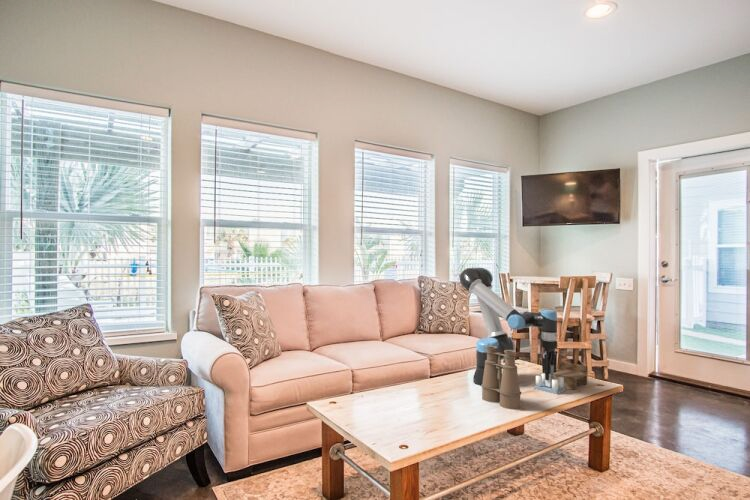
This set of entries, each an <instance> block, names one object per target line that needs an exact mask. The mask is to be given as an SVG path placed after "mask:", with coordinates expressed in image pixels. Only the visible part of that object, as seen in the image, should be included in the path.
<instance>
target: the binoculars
mask: <svg viewBox="0 0 750 500" xmlns="http://www.w3.org/2000/svg"><path fill="white" fill-rule="evenodd" d="M486 348H487V351H486V353H487V360H485V368H484V375H483V383H482V384H481V385H480V386H481V393H482V394H481V399H482V400H483V401H485V402H489V403H499V406H500V407H502V408H504V409H506V410H507V409H508V410H519V409H520V408H521V406H522V405H521V395H522V392H521V387H520V380H519V374H518V373H519V372H518V366H517V365H516V358H517V355H516V353H517V351H516V350H515V351H514V350H504V353H505V354H501V353H500V352H499V353H498V352H497V351H496V350H497V347H496V346H486ZM497 354H498V355H499V361H497ZM501 355H502V356H504V357H505V359H504V364H502V363H501V362H502V361H501Z"/></svg>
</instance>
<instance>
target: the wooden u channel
mask: <svg viewBox="0 0 750 500" xmlns="http://www.w3.org/2000/svg"><path fill="white" fill-rule="evenodd" d="M555 371H556V373H555V372H554V379H557V377H563V378H564V387H566V389H569V388H570V390H574V391H576V390H577V386H578V385H577V383H578V384H582V385H586V386H587V385H588V366H587V365H581V364H578V363H577V364H576V363H570V362H565V361H560V368H558V369H556V370H555Z"/></svg>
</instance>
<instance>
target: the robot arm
mask: <svg viewBox="0 0 750 500" xmlns="http://www.w3.org/2000/svg"><path fill="white" fill-rule="evenodd" d="M459 275H460V276H459V282H460V284H461V286H462V287H463V288H464V289H465V290H466V291H467V292H468V293H470V294H474V295H475V296H476V299H477V301H478V305H479V309H480V311H481V314H482V318H483V322H484V324H485V328H486V330H487V331H486V332H487V337H482V338H479V339H477V341H476V347H475V349H476V350H475V351H476V368H475V370H474V374H473V380H472V381H473V383H474V384H476V385H478V386H481V384H482V383H483V375H484V368H485V360H487V353H486V351H487V348H486V346H496V347H497V350H496V351H497V352H498V353H499V352H500V353H501V354H505V353H504V350H514V351H516V350H515V349H516V345H515V343H514V340H513V339H512V338H510V337H509V336H508V332H506V331H505V330H503V329H504V328H503V327H502V326H503V325H502V322H501V320H500V317H502V318H503V319H504V320H505V321H506V322H507V325H508V327H509V328H510V329H511V330H521V329H525V328H526V329H527V328H531V327H532V328H541V329H540V330H541V348H542V349H544V350H543V353H541V355H540V357H541V365H542V373H545V386H548V387H551V374H550V365H554V372H555V373H556V371H555V370H557V367H558V366H557V363H558V362H557V361H558V353H559V352H558V351H557V349H558V341H557V340H558V314H557V313H558V312H557V311H556V310H554V309H542V310H541V312H533V311H521V312H520V311H518V310H516V308H514V307H513V306H512V305H511V304H509V303H508V302H507V301H506V300H504V299H503V298H502V297H501V296H499V295H498V294H497V293H495V292H494V291H493V290H492V288H493V285H492V282H493V274H492V273H491V271H490V270H489V269H487V268H484V267H468V268H465V269H463V270H462V272H460V274H459ZM501 360H505V357H504V356H502V355H501ZM497 361H498V362H499V355H498V354H497Z"/></svg>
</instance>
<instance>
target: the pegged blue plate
mask: <svg viewBox="0 0 750 500" xmlns="http://www.w3.org/2000/svg"><path fill="white" fill-rule="evenodd" d="M550 374H551V387H548V386H545V373H543V372H542V373H541V375H535V385H534V386H533V389H534V390H536V389H537V390H538V391H540V390H541V392H544V391H545V392H546V393H548V392H549V394H552V393H553V395H556V394H557V395H559V394H561V393H562V392H565V391H566V390H567V388H566V387H564V378H563V377H557V379H554V365H550ZM545 392H544V393H545Z"/></svg>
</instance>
